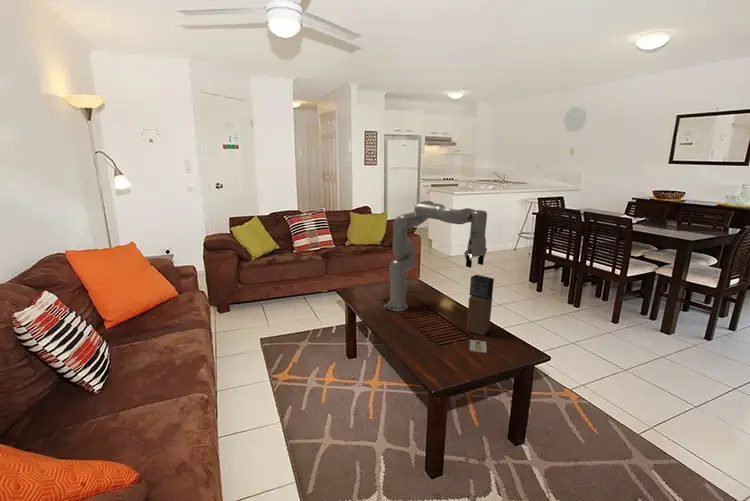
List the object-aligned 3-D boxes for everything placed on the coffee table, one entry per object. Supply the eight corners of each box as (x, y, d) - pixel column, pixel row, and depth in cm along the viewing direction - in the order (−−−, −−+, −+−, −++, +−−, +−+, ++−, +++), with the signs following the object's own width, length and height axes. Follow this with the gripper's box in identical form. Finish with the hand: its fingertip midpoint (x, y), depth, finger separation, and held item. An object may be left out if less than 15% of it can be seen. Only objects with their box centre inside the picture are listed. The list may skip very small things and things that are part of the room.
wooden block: (484, 336, 204) (487, 300, 199) (465, 331, 209) (468, 296, 204) (489, 329, 212) (492, 295, 207) (472, 325, 217) (474, 291, 212)
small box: (492, 297, 204) (494, 278, 202) (487, 300, 200) (489, 281, 197) (474, 292, 211) (476, 273, 209) (468, 295, 207) (470, 276, 204)
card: (469, 351, 188) (469, 349, 188) (469, 340, 198) (470, 339, 198) (486, 353, 186) (486, 351, 186) (486, 342, 196) (486, 341, 196)
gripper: (472, 237, 192) (469, 270, 196) (493, 233, 202) (490, 265, 207) (460, 234, 198) (458, 266, 202) (482, 231, 208) (479, 261, 212)
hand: (474, 265), depth 204 cm, fingers open, 9 cm apart
